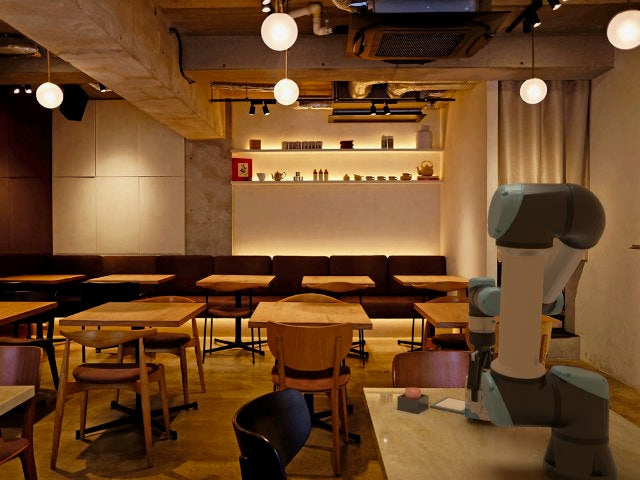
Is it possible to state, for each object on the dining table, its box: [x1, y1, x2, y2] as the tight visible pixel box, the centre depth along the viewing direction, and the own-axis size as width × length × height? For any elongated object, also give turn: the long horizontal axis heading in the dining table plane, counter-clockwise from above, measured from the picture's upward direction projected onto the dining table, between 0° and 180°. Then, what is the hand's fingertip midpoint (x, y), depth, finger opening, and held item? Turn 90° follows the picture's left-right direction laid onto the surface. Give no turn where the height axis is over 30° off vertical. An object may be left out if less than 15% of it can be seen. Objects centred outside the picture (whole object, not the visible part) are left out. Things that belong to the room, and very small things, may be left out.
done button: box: [404, 386, 422, 400], centre depth 166 cm, size 5×5×4 cm
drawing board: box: [429, 396, 465, 416], centre depth 169 cm, size 12×11×1 cm
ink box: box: [464, 369, 492, 422], centre depth 156 cm, size 9×8×13 cm
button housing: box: [396, 392, 430, 415], centre depth 166 cm, size 7×7×4 cm
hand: (482, 408), depth 156 cm, fingers closed on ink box, 9 cm apart
